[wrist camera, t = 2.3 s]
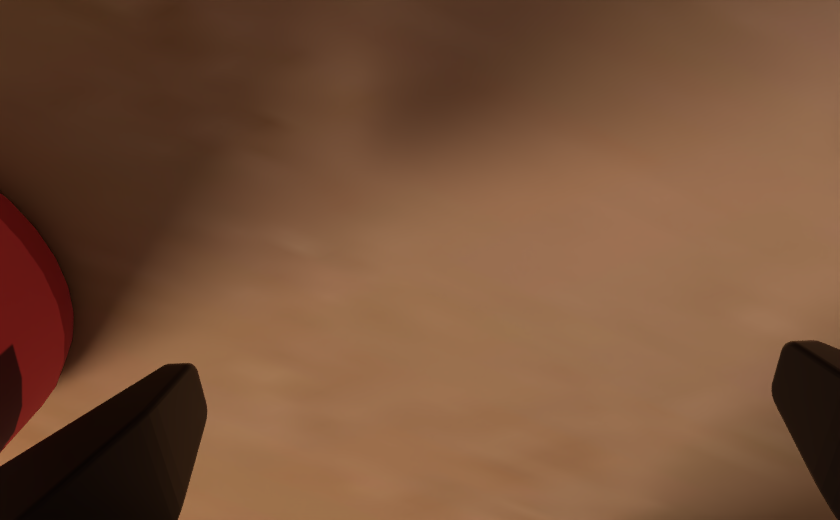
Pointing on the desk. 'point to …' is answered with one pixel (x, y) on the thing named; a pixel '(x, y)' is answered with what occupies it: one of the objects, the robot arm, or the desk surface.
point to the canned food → (29, 321)
